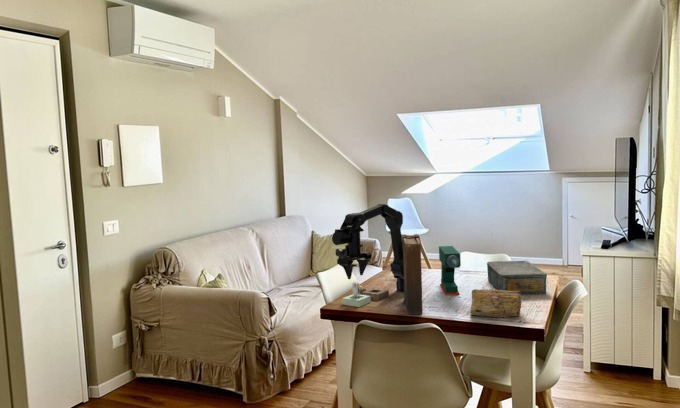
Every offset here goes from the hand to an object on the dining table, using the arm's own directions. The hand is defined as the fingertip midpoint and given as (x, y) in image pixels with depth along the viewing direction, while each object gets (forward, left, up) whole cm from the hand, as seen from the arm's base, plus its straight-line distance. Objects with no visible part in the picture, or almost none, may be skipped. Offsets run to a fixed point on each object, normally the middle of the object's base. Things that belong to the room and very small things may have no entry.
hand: (355, 277), depth 243 cm
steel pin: (0, 0, -12) cm, 12 cm away
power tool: (-29, -36, -13) cm, 48 cm away
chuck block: (-2, -13, -12) cm, 18 cm away
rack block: (0, 0, -12) cm, 12 cm away
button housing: (+7, -13, -12) cm, 19 cm away
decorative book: (-25, -7, -12) cm, 29 cm away
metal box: (-50, -62, -13) cm, 81 cm away
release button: (+7, -13, -11) cm, 19 cm away
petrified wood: (-59, -13, -13) cm, 62 cm away
